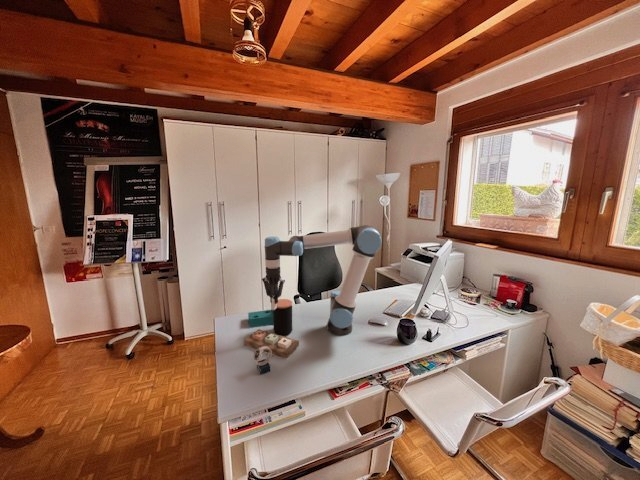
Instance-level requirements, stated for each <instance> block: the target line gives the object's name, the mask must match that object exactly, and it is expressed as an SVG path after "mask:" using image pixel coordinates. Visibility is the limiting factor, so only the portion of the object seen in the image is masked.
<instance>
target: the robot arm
mask: <svg viewBox="0 0 640 480" xmlns="http://www.w3.org/2000/svg"><path fill="white" fill-rule="evenodd" d="M382 241H383V240H382V236H381V234H380V232H379V231H378V230H377V229H375V227H373V226H372V225H368V224H364V225H359V226H353V227H349V228H348V229H345V230H344V229H343V230H339V231H338V230H337V231H336V230H335V231H330V232H329V231H328V232H320V233H313V234H305V235H293V236H291V237H290V238H289V240H280V237H279V236H267V237H265V239H264V257H265V258H264V261H265V274H266V275H265V277H262V279H261V280H262V283H263V285H264V289H265V293H266V296H267V297H269V300H270V301H269V302H270V304H271V303H272V310H275V309H276V308H277V303H278V300H279V298H280V297H281V296H282V293H283V290H284V289H283V287H284V284H285V282H286V280H285V279H283V278H282V276H281V257H283V256H284V257H285V256H286V257H300V256H303V253H304V250H307V249H314V248H315V249H316V248H324V247H331V246H333V247H334V246H340V245H348V244H350V245H351V246H353V247H352V253H353V256H352V259H351V260H350V264H349V267H348V270H347V272H346V275H345V278H344V281H343V284H342V286H341V289H340V290H332V291H331V292H330V295H329V296H330V301H329V302H330V303H329V304H330V305H329V318H328V320H327V323H326V330H327V331H328V333H330V334H332V335H336V336H346V335H349V334H350V333H352V331H353V320H354V312H355V310H356V307H357V303H356V299H357V297H358V296H357V295H358V293H359V291H360V288H361V285H362V282H363V280H364V277H365V274H366V271H367V269H368V267H369V264H370V261H371V260H372V259H375V256H376V254H377V252H378V251H379V250H380V249H381V247H382V243H383V242H382Z"/></svg>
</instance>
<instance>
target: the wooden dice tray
mask: <svg viewBox="0 0 640 480" xmlns="http://www.w3.org/2000/svg"><path fill="white" fill-rule="evenodd" d="M258 330H259V331H262V332H266V337H267V336H268V335H270V334H273V335H277V334H275V333H274V332H270V331H267V330H264V329H256V330H255V331H254V332H253V333H252V334H250V335H249V336H248V337H247V338H245V339H244V341H243V342H244V346H246V347H249V348H252V349H254V350H257V349H258V348H260V347H263V346H268V347H269V348H270V349H271V351H272V356H276V357H278V358H279V357H280V358H283V359H286V360H288V358H289V357H291V355H292V354H293V353H294V352H295V351H296V350H297V349H298V347H300V340H299V339H298V340H297V339H294V338H291V337H287V336H281V335H277V336H278V341H277V342H276V343H275V344H274V345H272V344H269V343H265V338H266V337H265V338H263V339H262V340H261V341H259V340H256V339H253V338H252V335H253V334H254V333H255V332H257V331H258ZM282 338H287V339H290V340H291V345H290V346H289V347H288V348H287V349H285V348H282V347H278V342H279V341H280V340H281V339H282ZM269 351H270V350H269V349H265V350H263V352H264V353H268V354H269Z"/></svg>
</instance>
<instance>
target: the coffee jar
mask: <svg viewBox="0 0 640 480" xmlns="http://www.w3.org/2000/svg"><path fill="white" fill-rule="evenodd" d="M272 325H273V333H274V334H277V335H281V336H284V337H287V336H290V334H292V332H293V302H292V300H290V299H287V298H280V299H279V298H278V303H277V308H276V309H275V310H273V324H272Z"/></svg>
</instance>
